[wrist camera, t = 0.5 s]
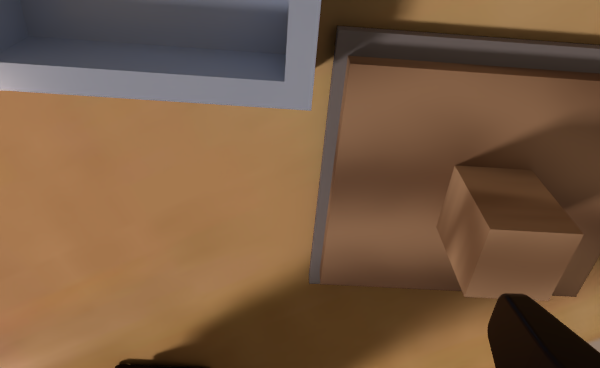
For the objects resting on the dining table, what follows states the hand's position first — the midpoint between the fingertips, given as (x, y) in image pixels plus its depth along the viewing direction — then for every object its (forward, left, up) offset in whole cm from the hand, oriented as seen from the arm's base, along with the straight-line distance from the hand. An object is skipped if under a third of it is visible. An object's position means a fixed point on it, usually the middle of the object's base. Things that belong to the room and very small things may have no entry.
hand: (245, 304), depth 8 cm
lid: (-5, -10, -13) cm, 17 cm away
